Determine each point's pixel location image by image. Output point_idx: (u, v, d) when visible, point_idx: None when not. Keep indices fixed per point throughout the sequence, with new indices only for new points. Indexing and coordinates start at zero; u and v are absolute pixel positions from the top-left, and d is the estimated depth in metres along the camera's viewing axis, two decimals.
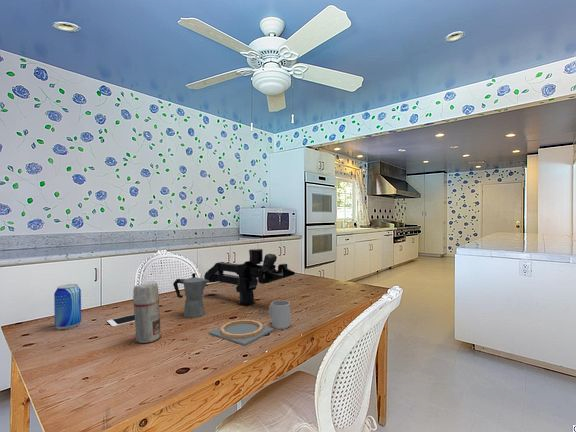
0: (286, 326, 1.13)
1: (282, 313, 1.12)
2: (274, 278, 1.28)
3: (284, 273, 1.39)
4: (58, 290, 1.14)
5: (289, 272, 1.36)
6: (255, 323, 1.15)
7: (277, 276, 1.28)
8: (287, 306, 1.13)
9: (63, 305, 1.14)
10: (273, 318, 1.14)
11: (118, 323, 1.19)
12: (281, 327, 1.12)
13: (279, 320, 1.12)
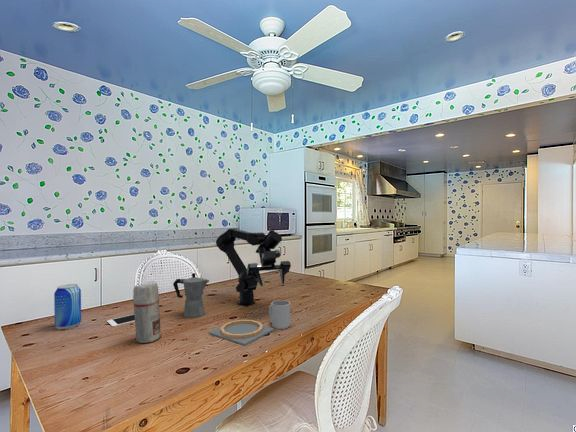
0: (286, 326, 1.13)
1: (282, 313, 1.12)
2: (257, 280, 1.26)
3: (280, 272, 1.31)
4: (58, 290, 1.14)
5: (281, 278, 1.28)
6: (255, 323, 1.15)
7: (259, 281, 1.24)
8: (287, 306, 1.13)
9: (63, 305, 1.14)
10: (273, 318, 1.14)
11: (118, 323, 1.19)
12: (281, 327, 1.12)
13: (279, 320, 1.12)
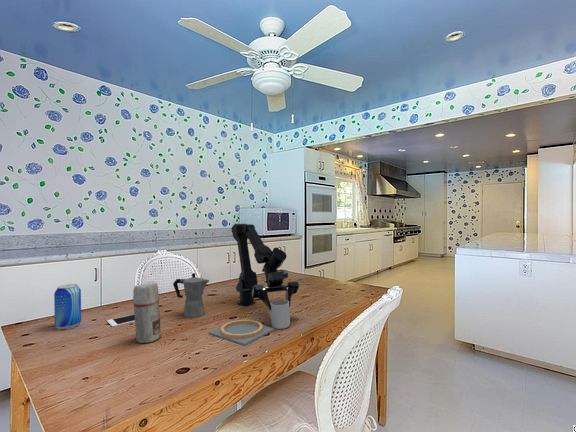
0: (286, 326, 1.13)
1: (281, 313, 1.12)
2: (265, 302, 1.17)
3: (286, 294, 1.22)
4: (58, 290, 1.14)
5: (287, 300, 1.18)
6: (255, 323, 1.15)
7: (267, 304, 1.15)
8: (286, 306, 1.13)
9: (63, 305, 1.14)
10: (272, 318, 1.14)
11: (118, 323, 1.19)
12: (281, 327, 1.12)
13: (278, 319, 1.12)
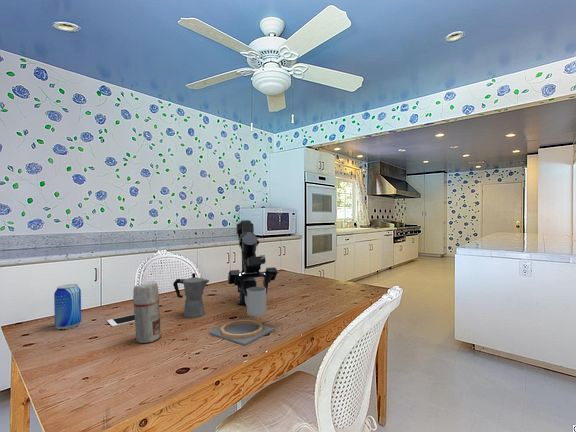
0: (261, 313, 1.09)
1: (257, 299, 1.08)
2: (241, 288, 1.12)
3: (263, 280, 1.17)
4: (58, 290, 1.14)
5: (264, 286, 1.14)
6: (255, 323, 1.15)
7: (243, 290, 1.11)
8: (262, 292, 1.09)
9: (63, 305, 1.14)
10: (248, 305, 1.09)
11: (118, 323, 1.19)
12: (256, 314, 1.08)
13: (254, 306, 1.08)
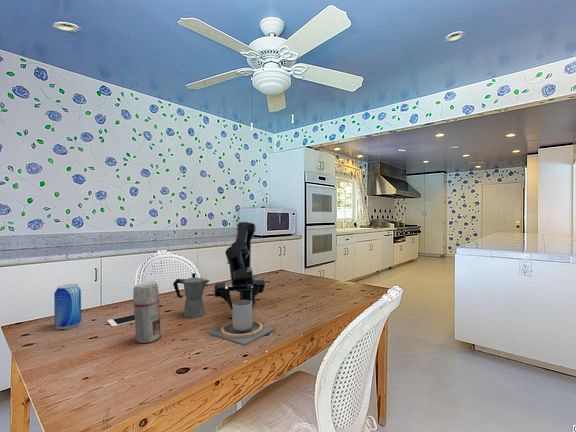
0: (247, 327, 1.07)
1: (242, 314, 1.06)
2: (227, 302, 1.10)
3: (251, 293, 1.15)
4: (58, 290, 1.14)
5: (251, 300, 1.12)
6: (255, 323, 1.15)
7: (229, 304, 1.09)
8: (248, 306, 1.07)
9: (63, 305, 1.14)
10: (233, 319, 1.07)
11: (118, 323, 1.19)
12: (241, 328, 1.06)
13: (239, 321, 1.06)
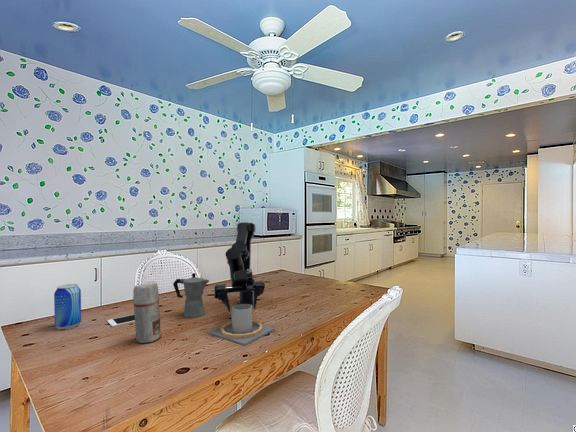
0: (247, 332, 1.06)
1: (242, 318, 1.06)
2: (225, 303, 1.10)
3: (253, 294, 1.15)
4: (58, 290, 1.14)
5: (253, 301, 1.12)
6: (255, 323, 1.15)
7: (226, 305, 1.09)
8: (248, 310, 1.07)
9: (63, 306, 1.14)
10: (233, 323, 1.07)
11: (118, 323, 1.19)
12: (241, 333, 1.06)
13: (239, 325, 1.06)
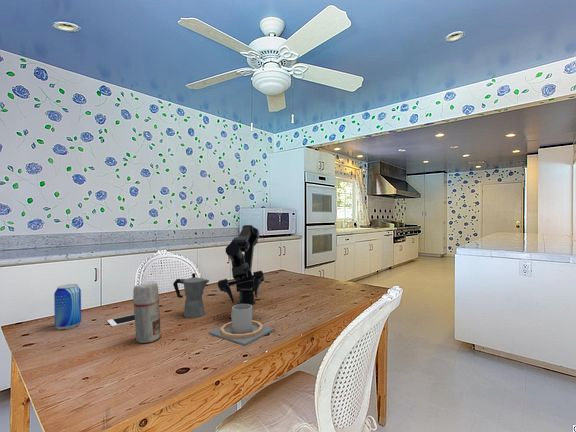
0: (247, 332, 1.06)
1: (242, 318, 1.06)
2: None
3: None
4: (58, 290, 1.14)
5: None
6: (255, 323, 1.15)
7: None
8: (248, 310, 1.07)
9: (63, 305, 1.14)
10: (233, 323, 1.07)
11: (118, 323, 1.19)
12: (241, 333, 1.06)
13: (239, 325, 1.06)
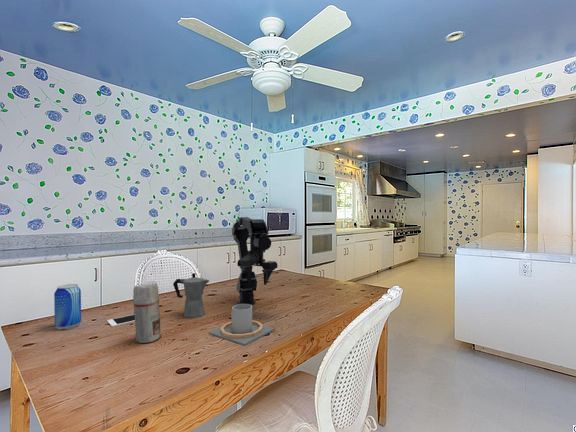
0: (247, 332, 1.06)
1: (242, 318, 1.06)
2: None
3: None
4: (58, 290, 1.14)
5: None
6: (255, 323, 1.15)
7: None
8: (248, 310, 1.07)
9: (63, 306, 1.14)
10: (233, 323, 1.07)
11: (117, 323, 1.19)
12: (241, 333, 1.06)
13: (239, 325, 1.06)
